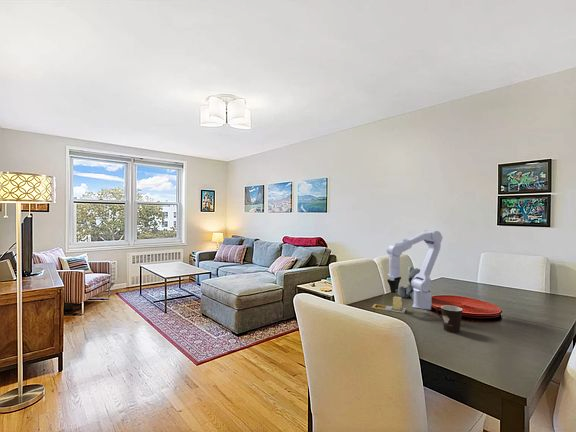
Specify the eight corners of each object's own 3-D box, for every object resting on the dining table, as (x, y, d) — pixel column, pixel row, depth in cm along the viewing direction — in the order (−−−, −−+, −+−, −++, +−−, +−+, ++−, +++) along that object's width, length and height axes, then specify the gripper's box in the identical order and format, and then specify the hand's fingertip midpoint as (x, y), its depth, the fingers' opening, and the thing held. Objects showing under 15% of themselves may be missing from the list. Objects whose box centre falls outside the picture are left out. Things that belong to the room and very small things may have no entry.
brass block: (401, 309, 168) (401, 297, 168) (400, 311, 164) (400, 298, 164) (394, 308, 170) (394, 296, 170) (392, 310, 166) (392, 297, 166)
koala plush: (395, 296, 196) (395, 265, 196) (415, 293, 203) (415, 264, 203) (417, 303, 180) (417, 270, 180) (438, 299, 188) (438, 268, 188)
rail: (405, 309, 168) (405, 308, 168) (404, 313, 162) (404, 311, 162) (374, 305, 176) (374, 303, 176) (371, 308, 170) (371, 306, 170)
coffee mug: (466, 333, 134) (466, 311, 134) (446, 333, 134) (446, 311, 134) (452, 324, 145) (452, 303, 145) (434, 324, 146) (434, 303, 146)
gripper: (389, 264, 177) (389, 287, 177) (384, 268, 164) (384, 293, 165) (402, 265, 174) (402, 289, 174) (397, 269, 161) (397, 294, 161)
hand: (394, 291), depth 169 cm, fingers open, 7 cm apart
